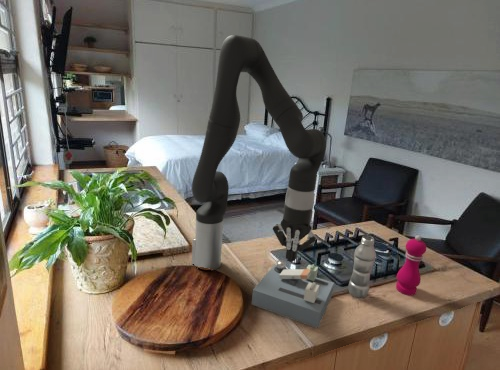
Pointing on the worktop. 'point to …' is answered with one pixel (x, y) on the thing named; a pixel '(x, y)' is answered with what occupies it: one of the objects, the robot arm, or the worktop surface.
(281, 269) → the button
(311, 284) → the slider knob
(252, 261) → the worktop surface
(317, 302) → the console
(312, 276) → the green slider
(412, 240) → the pepper mill
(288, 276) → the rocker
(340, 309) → the worktop surface
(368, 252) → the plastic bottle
